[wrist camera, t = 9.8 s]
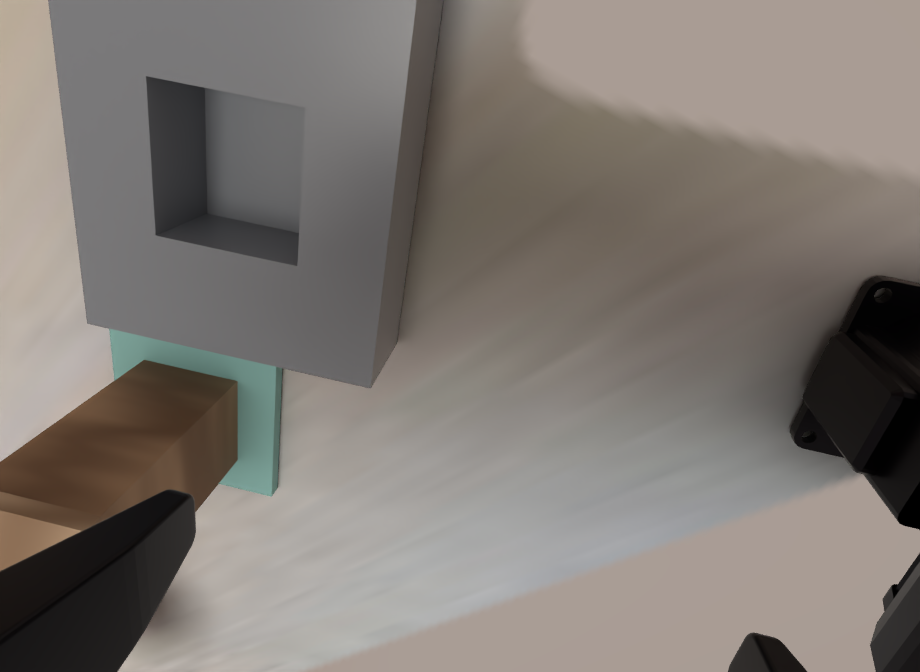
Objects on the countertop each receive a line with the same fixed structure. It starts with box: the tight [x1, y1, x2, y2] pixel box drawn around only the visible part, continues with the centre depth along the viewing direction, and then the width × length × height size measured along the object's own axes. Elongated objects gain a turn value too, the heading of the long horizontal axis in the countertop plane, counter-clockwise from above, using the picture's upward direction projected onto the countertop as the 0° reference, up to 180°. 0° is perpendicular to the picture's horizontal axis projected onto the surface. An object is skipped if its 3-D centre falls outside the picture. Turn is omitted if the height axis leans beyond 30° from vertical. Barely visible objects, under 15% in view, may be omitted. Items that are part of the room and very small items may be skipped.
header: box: [48, 0, 443, 388], centre depth 19 cm, size 10×12×4 cm
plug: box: [0, 360, 238, 571], centre depth 21 cm, size 4×4×9 cm
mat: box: [109, 329, 282, 497], centre depth 25 cm, size 7×7×1 cm
